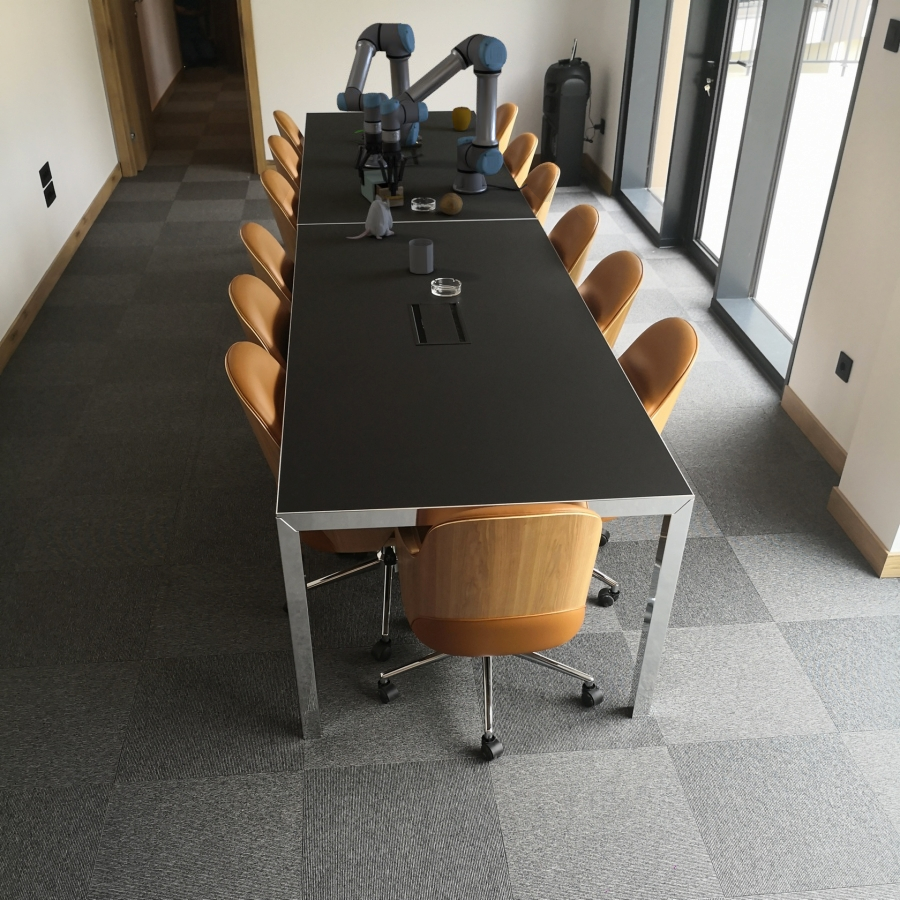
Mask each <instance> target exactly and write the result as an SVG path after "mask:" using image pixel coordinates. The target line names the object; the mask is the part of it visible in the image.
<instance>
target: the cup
mask: <svg viewBox="0 0 900 900" xmlns="http://www.w3.org/2000/svg"><path fill="white" fill-rule="evenodd" d="M408 253H409V272H411V273H412V274H416V275H426V274H430V273H432V272H434V241H433V240H431V239H428V238H422V237H421V238H420V237H419V238H414V239H411V240H410V241H409V242H408Z"/></svg>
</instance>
